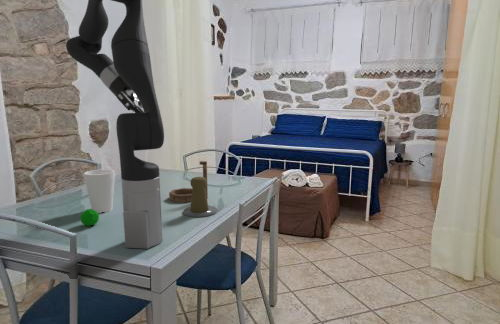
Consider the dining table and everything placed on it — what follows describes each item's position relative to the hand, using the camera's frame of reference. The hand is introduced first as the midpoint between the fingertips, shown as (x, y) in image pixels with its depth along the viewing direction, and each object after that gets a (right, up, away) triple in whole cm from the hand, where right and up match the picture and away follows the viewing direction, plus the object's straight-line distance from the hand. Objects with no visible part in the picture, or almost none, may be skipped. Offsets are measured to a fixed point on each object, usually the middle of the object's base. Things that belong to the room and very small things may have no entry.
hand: (151, 116), depth 119 cm
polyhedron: (-15, -34, -12) cm, 39 cm away
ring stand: (+10, -28, +15) cm, 34 cm away
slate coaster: (+16, -31, 0) cm, 35 cm away
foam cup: (-17, -31, +2) cm, 35 cm away
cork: (+16, -31, -1) cm, 35 cm away
